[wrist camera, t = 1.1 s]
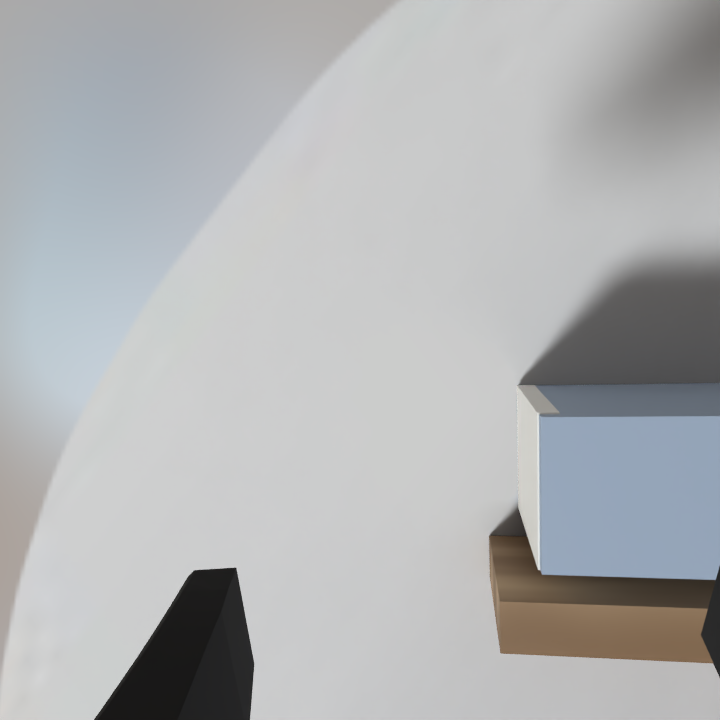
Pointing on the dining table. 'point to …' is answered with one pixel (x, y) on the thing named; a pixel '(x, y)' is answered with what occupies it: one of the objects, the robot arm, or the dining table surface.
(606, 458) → the boxed book
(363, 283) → the dining table surface
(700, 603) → the brown wooden rack
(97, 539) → the dining table surface
